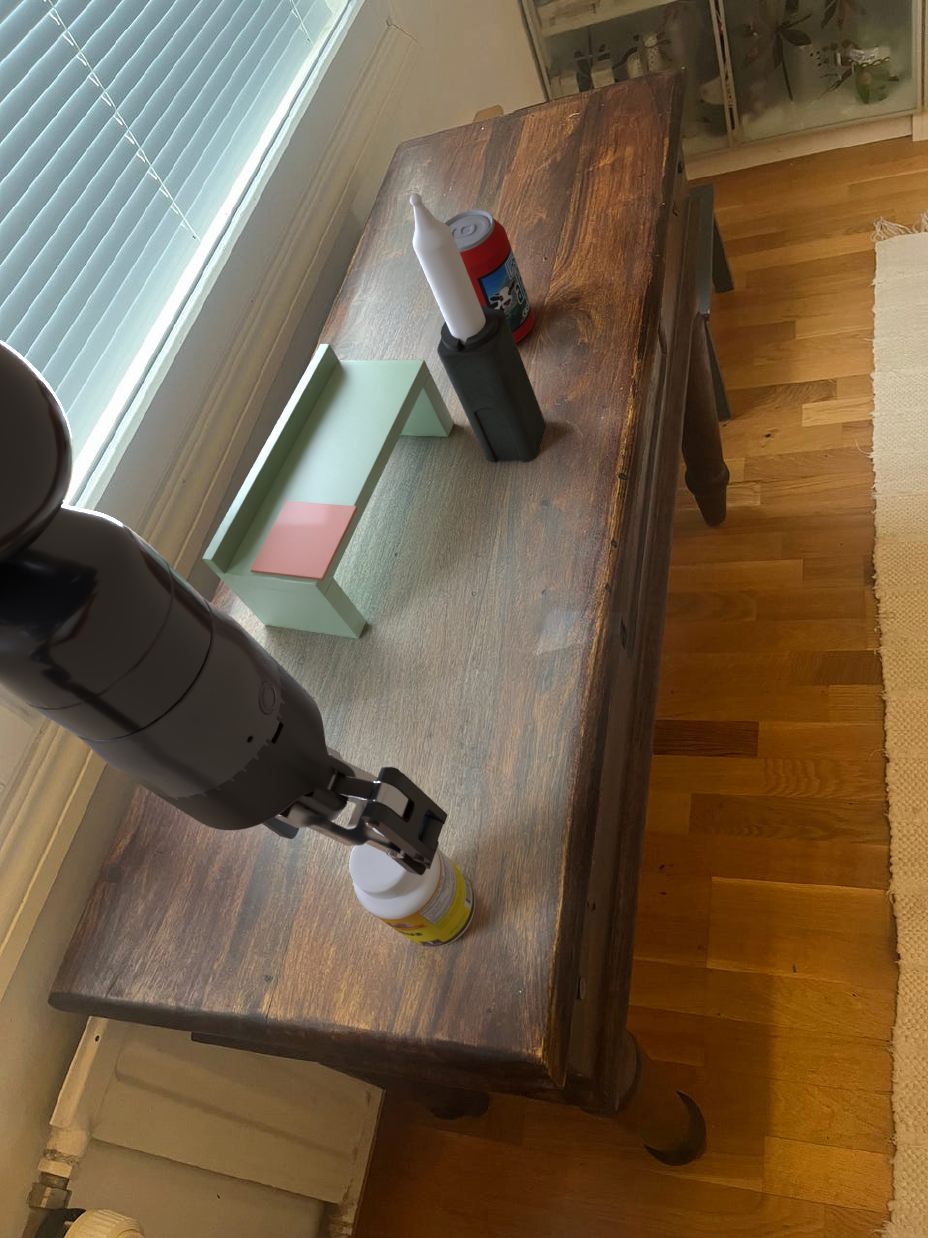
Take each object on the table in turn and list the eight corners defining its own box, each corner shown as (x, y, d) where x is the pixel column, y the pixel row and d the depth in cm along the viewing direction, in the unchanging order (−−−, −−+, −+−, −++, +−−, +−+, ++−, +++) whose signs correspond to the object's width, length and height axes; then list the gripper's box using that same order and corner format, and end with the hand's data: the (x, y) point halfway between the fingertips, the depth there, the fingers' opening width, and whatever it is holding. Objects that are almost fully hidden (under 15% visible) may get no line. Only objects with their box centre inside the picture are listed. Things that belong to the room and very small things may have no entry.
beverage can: (532, 351, 89) (495, 245, 80) (466, 361, 92) (423, 260, 82) (539, 303, 93) (505, 197, 83) (476, 314, 95) (435, 212, 86)
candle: (548, 418, 84) (456, 165, 64) (536, 462, 81) (437, 213, 62) (496, 421, 86) (391, 176, 66) (483, 463, 83) (370, 223, 64)
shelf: (363, 639, 77) (309, 571, 69) (263, 624, 82) (201, 558, 74) (459, 422, 87) (421, 341, 79) (365, 420, 92) (320, 343, 84)
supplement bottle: (385, 918, 63) (317, 870, 55) (435, 851, 65) (377, 795, 57) (443, 968, 60) (380, 925, 52) (495, 897, 61) (442, 844, 53)
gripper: (36, 760, 41) (231, 873, 53) (299, 831, 34) (448, 940, 47) (119, 615, 44) (284, 755, 57) (373, 656, 38) (494, 803, 50)
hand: (358, 839), depth 52 cm, fingers open, 8 cm apart
